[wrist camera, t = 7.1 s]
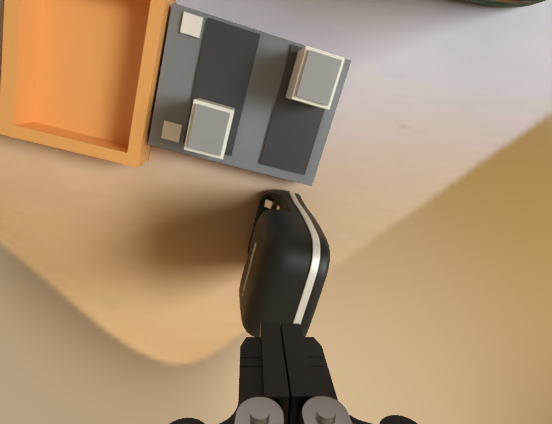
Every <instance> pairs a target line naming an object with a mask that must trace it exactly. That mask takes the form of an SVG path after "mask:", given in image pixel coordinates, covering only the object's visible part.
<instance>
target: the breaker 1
mask: <svg viewBox="0 0 552 424" xmlns="http://www.w3.org/2000/svg"><path fill="white" fill-rule="evenodd" d="M234 111H235V108H232V107H229V106H225V105H222V104H218V103H215V102H211V101H208V100H204V99H201V98H198V99H194V101H193V106H192V111H191V116H190V121H189V126H188V131H187V136H186V141H185V146H184V150H188V151H192V152H196V153H200V154H204V155H207V156H211V157H215V158H219V159H223V157H224V153H225V149H226V145H227V141H228V137H229V132H230V128H231V124H232V120H233V115H234Z"/></svg>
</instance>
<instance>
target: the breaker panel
mask: <svg viewBox="0 0 552 424" xmlns="http://www.w3.org/2000/svg"><path fill="white" fill-rule="evenodd" d="M304 47H305V46H304V45H301V44H298V43H295V42H292V41H288V40H285V39H282V38H279V37H276V36H273V35H270V34H267V33H264V32H261V31H258V30H255V29H252V28H249V27H245V26H242V25H239V24H236V23H233V22H230V21H227V20H224V19H221V18H218V17H215V16H212V15H209V14H205V13H202V12H199V11H196V10H193V9H190V8H187V7H184V6H181V5H178V4H175V3H172V7H171V13H170V19H169V24H168V30H167V36H166V42H165V48H164V54H163V60H162V65H161V71H160V77H159V83H158V89H157V95H156V101H155V107H154V112H153V118H152V124H151V130H150V136H149V142H148V145H152V146H156V147H160V148H164V149H168V150H172V151H176V152H179V153H183V154H187V155H191V156H195V157H199V158H203V159H207V160H211V161H215V162H219V163H223V164H227V165H231V166H235V167H239V168H243V169H246V170H250V171H254V172H258V173H262V174H266V175H270V176H274V177H278V178H282V179H286V180H290V181H294V182H298V183H302V184H306V185H310V186H312V183H313V180H314V177H315V174H316V171H317V167H318V164H319V161H320V158H321V155H322V152H323V148H324V145H325V142H326V139H327V136H328V133H329V129H330V126H331V123H332V120H333V117H334V114H335V110H336V107H337V104H338V101H339V98H340V95H341V91H342V88H343V85H344V82H345V79H346V76H347V72H348V69H349V66H350V63H351V61H350V60H347V59H345V61H344V64H343V68H342V71H341V74H340V77H339V81H338V84H337V87H336V90H335V93H334V97H333V100H332V103H331V106H330V110H328V109H323V108H318V107H315V106H311V105H308V104H304V103H301V102H298V101H294V100H291V99H287V98H285V97H286V93H287V90H288V86H289V82H290V79H291V75H292V71H293V68H294V64H295V60H296V57H297V53H298V51H299V50H301V49H302V48H304ZM198 98H201V99H204V100H208V101H211V102H215V103H218V104H222V105H225V106H229V107H232V108H235V111H234V115H233V120H232V124H231V128H230V132H229V137H228V141H227V145H226V149H225V153H224V157H223V159H219V158H215V157H211V156H207V155H204V154H200V153H196V152H192V151H188V150H184V146H185V141H186V136H187V131H188V126H189V121H190V116H191V111H192V106H193V101H194V99H198Z"/></svg>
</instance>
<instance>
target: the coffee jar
mask: <svg viewBox="0 0 552 424" xmlns="http://www.w3.org/2000/svg"><path fill="white" fill-rule="evenodd" d="M464 1H467V2H472V3H476V4H481V5H487V6H495V7H524V6H529V5H533V4H536V3H539V2H542V1H545V0H464Z"/></svg>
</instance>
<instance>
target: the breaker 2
mask: <svg viewBox="0 0 552 424" xmlns="http://www.w3.org/2000/svg"><path fill="white" fill-rule="evenodd" d="M344 61H345V58H343V57H340V56H337V55H334V54H331V53H328V52H325V51H322V50H319V49H316V48H313V47H310V46H307V45H306V46H305V47H304V48H302V49H301V50H299V51H298V53H297V57H296V60H295V64H294V68H293V71H292V75H291V79H290V82H289V86H288V90H287V93H286V97H285V98H287V99H291V100H294V101H298V102H301V103H304V104H308V105H311V106H315V107H318V108H323V109H328V110H330V106H331V103H332V100H333V97H334V93H335V90H336V87H337V84H338V81H339V77H340V74H341V71H342V68H343V64H344Z"/></svg>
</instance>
